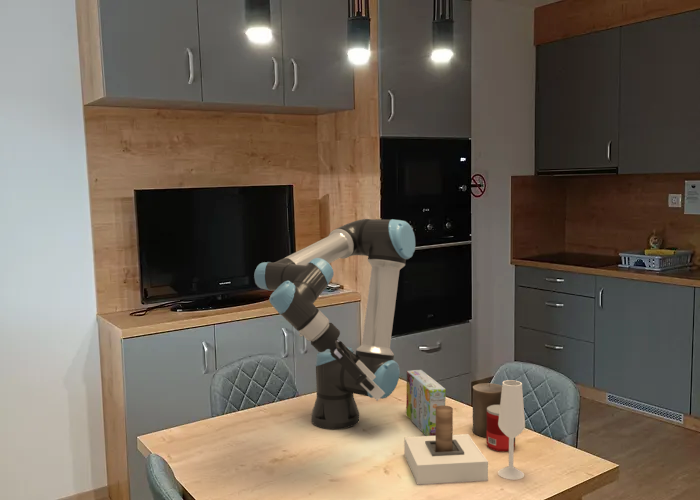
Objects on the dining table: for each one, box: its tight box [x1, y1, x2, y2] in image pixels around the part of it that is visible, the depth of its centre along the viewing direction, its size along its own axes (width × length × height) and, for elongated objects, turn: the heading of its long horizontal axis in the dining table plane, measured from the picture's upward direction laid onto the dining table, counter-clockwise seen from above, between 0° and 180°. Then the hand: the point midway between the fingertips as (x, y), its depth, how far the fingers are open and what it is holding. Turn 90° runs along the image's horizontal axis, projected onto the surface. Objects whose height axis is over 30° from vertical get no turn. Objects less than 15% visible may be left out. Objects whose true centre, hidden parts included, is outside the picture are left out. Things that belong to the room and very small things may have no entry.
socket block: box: [403, 433, 489, 485], centre depth 172 cm, size 18×18×6 cm
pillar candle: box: [472, 382, 502, 438], centre depth 195 cm, size 10×10×15 cm
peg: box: [436, 404, 454, 452], centre depth 172 cm, size 4×4×16 cm
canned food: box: [485, 405, 516, 453], centre depth 185 cm, size 8×8×11 cm
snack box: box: [405, 369, 447, 436], centre depth 200 cm, size 21×6×15 cm, turn 14°
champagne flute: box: [497, 379, 526, 481], centre depth 167 cm, size 7×7×24 cm
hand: (376, 388), depth 170 cm, fingers open, 13 cm apart
